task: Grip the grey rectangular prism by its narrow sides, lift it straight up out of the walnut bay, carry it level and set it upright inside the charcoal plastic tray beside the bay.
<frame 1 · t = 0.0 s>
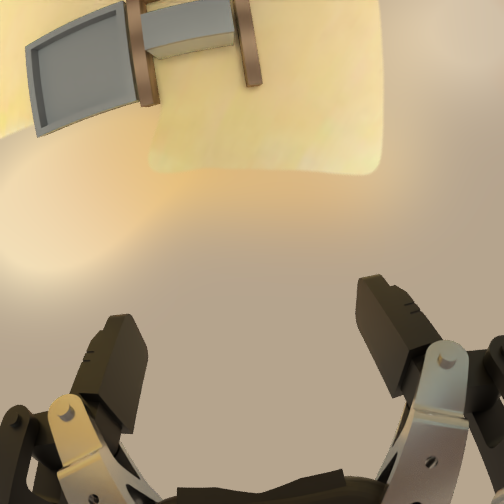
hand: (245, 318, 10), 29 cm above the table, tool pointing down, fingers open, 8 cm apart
charcoal tray: (82, 69, 28), on the table
walnut bay: (193, 35, 28), on the table
grey rectangular prism: (190, 29, 25), in the walnut bay
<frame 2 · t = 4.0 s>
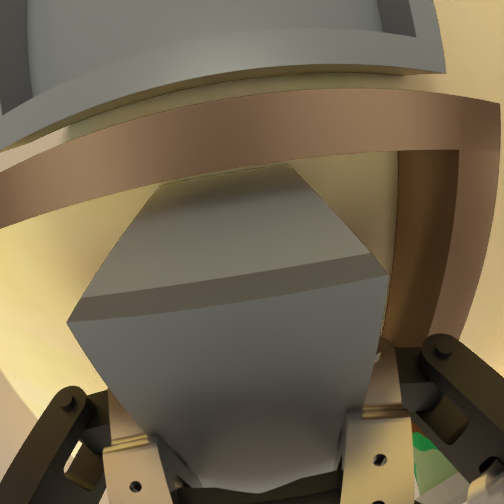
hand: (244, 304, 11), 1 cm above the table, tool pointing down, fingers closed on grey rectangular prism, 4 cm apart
walnut bay: (242, 285, 12), on the table
grey rectangular prism: (249, 349, 9), in the walnut bay, touching gripper
food container: (419, 403, 19), on the table
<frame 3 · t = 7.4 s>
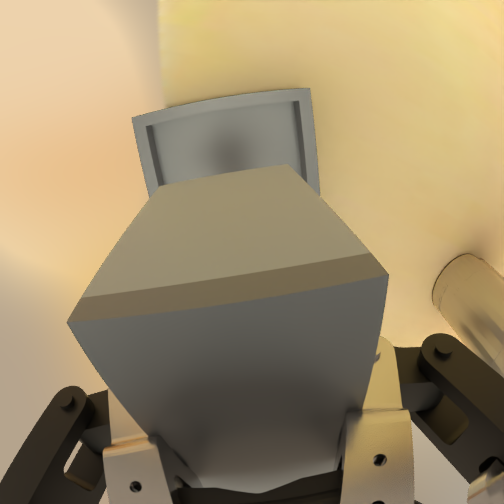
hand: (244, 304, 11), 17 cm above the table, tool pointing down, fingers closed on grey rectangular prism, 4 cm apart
charcoal tray: (233, 181, 26), on the table
grey rectangular prism: (249, 349, 9), point 20 cm above the table, touching gripper
when the fingers open (3 cm above the table, at t = 10.9 s): grey rectangular prism stays where it is, resting on charcoal tray.
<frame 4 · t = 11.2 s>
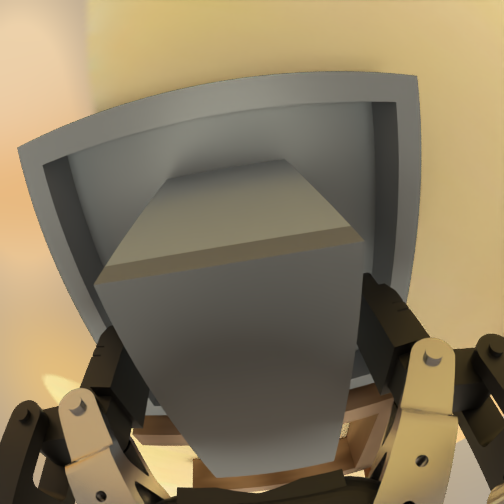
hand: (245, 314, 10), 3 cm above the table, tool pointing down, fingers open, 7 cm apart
charcoal tray: (240, 265, 13), on the table
walnut bay: (272, 428, 20), on the table
grey rectangular prism: (249, 328, 10), in the charcoal tray, point 4 cm above the table
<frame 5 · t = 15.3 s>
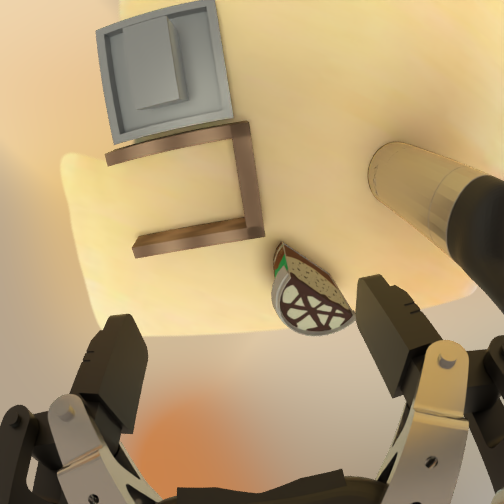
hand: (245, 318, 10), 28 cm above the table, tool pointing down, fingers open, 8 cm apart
charcoal tray: (164, 70, 29), on the table
walnut bay: (186, 186, 36), on the table
grey rectangular prism: (157, 65, 25), in the charcoal tray, point 4 cm above the table
food container: (292, 273, 43), on the table
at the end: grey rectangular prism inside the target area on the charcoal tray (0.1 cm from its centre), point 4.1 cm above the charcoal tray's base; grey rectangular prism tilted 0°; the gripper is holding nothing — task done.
